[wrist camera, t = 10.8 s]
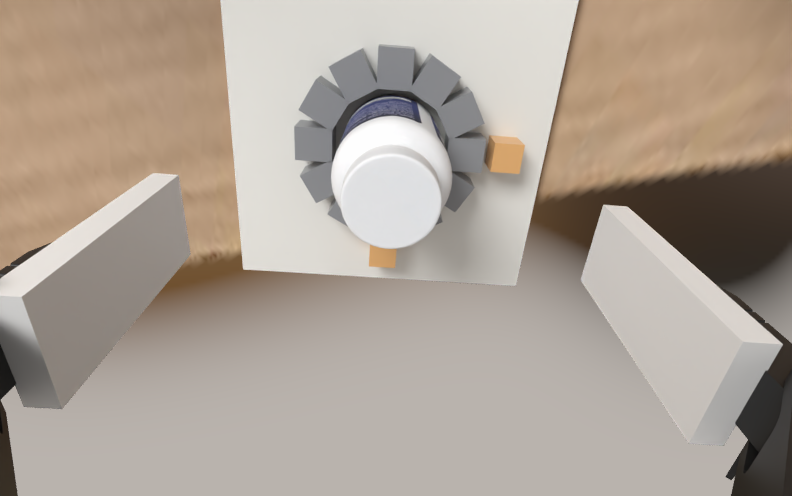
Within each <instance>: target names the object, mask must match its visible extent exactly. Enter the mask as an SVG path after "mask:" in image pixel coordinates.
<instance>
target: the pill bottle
mask: <svg viewBox="0 0 792 496" xmlns="http://www.w3.org/2000/svg"><path fill="white" fill-rule="evenodd" d="M331 183H332V189H333V193H334V196H335V199H336V201H337V203H338V205H339V207H340V208H341V212H342V215H343V218H344V220H345V222H346V224H347V226H348V227H349V228H350V230H351V231H352V232H353V233H354V234H355V235H356V236H357V237H358V238H359V239H361V240H362V241H364V242H366V243H368V244H370V245H372V246H375V247H379V248H385V249H398V248H404V247H408V246H410V245H413V244H415V243H417V242H419V241H420V240H422V239H423V238H424V237H425V236H427V235H428V234H429V233H430V232H431V230H432V229H433V228H434V226H435V225H436V223H437V221H438V219H439V216H440V213H441V210H442V209H443V207H444V205H445V204H446V202H447V199H448V197H449V194H450V190H451V186H452V168H451V162H450V158H449V155H448V153H447V150H446V147H445V145H444V142H443V140H442V137H441V134H440V132H439V129H438V126H437V124H436V122H435V120H434V119H433V117H432V115H431V114H430V113H429V111H428V110H427V109H426V108H425V107H424V106H423V105H422V104H420V103H419V102H417V101H415V100H414V99H412V98H409V97H407V96H403V95H399V94H384V95H379V96H376V97H373V98H371V99H369V100H367V101H366V102H364V103H363V104H362V105H361V106H359V107H358V108H357V109H356V111H355V112H354V113H353V114H352V116H351V118H350V119H349V121H348V123H347V126H346V129H345V131H344V134H343V136H342V139H341V141H340V144H339V146H338V148H337V151H336V154H335V157H334V160H333V164H332V170H331Z"/></svg>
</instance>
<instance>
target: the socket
mask: <svg viewBox="0 0 792 496" xmlns="http://www.w3.org/2000/svg"><path fill="white" fill-rule="evenodd" d="M220 1H221V13H222V24H223V36H224V48H225V60H226V72H227V83H228V95H229V107H230V119H231V131H232V142H233V154H234V166H235V178H236V190H237V201H238V213H239V225H240V237H241V249H242V260H243V269H245V270H262V271H277V272H294V273H310V274H326V275H343V276H359V277H375V278H390V279H407V280H423V281H439V282H455V283H471V284H487V285H504V286H516V284H517V279H518V275H519V270H520V266H521V261H522V257H523V252H524V247H525V243H526V238H527V234H528V229H529V225H530V220H531V215H532V211H533V206H534V202H535V197H536V193H537V188H538V184H539V179H540V175H541V170H542V165H543V161H544V156H545V152H546V147H547V143H548V138H549V134H550V129H551V124H552V120H553V115H554V111H555V106H556V102H557V97H558V93H559V88H560V84H561V79H562V74H563V70H564V65H565V61H566V56H567V52H568V47H569V43H570V38H571V33H572V29H573V24H574V20H575V15H576V11H577V6H578V2H579V0H220ZM384 94H399V95H403V96H407V97H409V98H412V99H414V100H415V101H417V102H419V103H420V104H422V105H423V106H424V107H425V108H426V109H427V110H428V111H429V113H430V114H431V115H432V117H433V119H434V120H435V122H436V124H437V126H438V129H439V132H440V134H441V137H442V140H443V142H444V145H445V147H446V150H447V153H448V155H449V158H450V162H451V168H452V186H451V190H450V194H449V197H448V199H447V202H446V204H445V205H444V207H443V209H442V210H441V213H440V216H439V219H438V221H437V223H436V225H435V226H434V228H433V229H432V230H431V232H430V233H429V234H428V235H427V236H425V237H424V238H423V239H422V240H420V241H419V242H417V243H415V244H413V245H410V246H408V247H404V248H398V249H385V248H379V247H375V246H372V245H370V244H368V243H366V242H364V241H362V240H361V239H359V238H358V237H357V236H356V235H355V234H354V233H353V232H352V231H351V230H350V228H349V227H348V226H347V224H346V222H345V220H344V218H343V215H342V212H341V208H340V207H339V205H338V203H337V201H336V199H335V196H334V193H333V189H332V183H331V170H332V164H333V160H334V157H335V154H336V151H337V148H338V146H339V144H340V141H341V139H342V136H343V134H344V131H345V129H346V126H347V123H348V121H349V119H350V118H351V116H352V114H353V113H354V112H355V111H356V109H357V108H358V107H359V106H361V105H362V104H363V103H364V102H366V101H367V100H369V99H371V98H373V97H376V96H379V95H384Z"/></svg>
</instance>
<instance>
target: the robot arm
mask: <svg viewBox="0 0 792 496" xmlns="http://www.w3.org/2000/svg"><path fill="white" fill-rule="evenodd" d="M190 255H191V254H190V247H189V241H188V234H187V227H186V221H185V214H184V208H183V201H182V195H181V188H180V181H179V175H172V174H158V173H153V174H151V175H150V176H148V177H147V178H145V179H144V180H142V181H141V182H139V183H138V184H137V185H135V186H134V187H132V188H131V189H129V190H128V191H126V192H125V193H124V194H122V195H121V196H119V197H118V198H116V199H115V200H113V201H112V202H110V203H109V204H108V205H106V206H105V207H103V208H102V209H100V210H99V211H97V212H96V213H94V214H93V215H92V216H90V217H89V218H87V219H86V220H84V221H83V222H81V223H80V224H79V225H77V226H76V227H74V228H73V229H71V230H70V231H68V232H67V233H65V234H64V235H63V236H61V237H60V238H58V239H57V240H55V241H54V242H52V243H49V244H47V245H44V246H42V247H39V248H37V249H34V250H32V251H29V252H27V253H26V254H24V255H23V256H21V257H20V258H18V259H17V260H15V261H14V262H12V263H11V265H10V266H6V267H5V268H3V269H2V270H0V496H18V495H17V488H16V481H15V473H14V466H13V460H12V453H11V445H10V438H9V431H8V424H7V417H6V412H5V409H4V407H3V405H2V403H1V399H2V397H3V396H4V395H6V393H8V392H9V390H10V389H12V387H14V386H16V389H17V391H18V394H19V396H20V398H21V401H22V403H23V406H24V407H35V408H53V409H63V407H64V406H65V405H66V404H67V403H68V401H69V400H70V399H71V398H72V396H73V395H74V394H75V393H76V392H77V390H78V389H79V388H80V387H81V386H82V384H83V383H84V382H85V381H86V380H87V379H88V377H89V376H90V375H91V374H92V372H93V371H94V370H95V369H96V368H97V366H98V365H99V364H100V363H101V362H102V360H103V359H104V358H105V357H106V356H107V354H108V353H109V352H110V351H111V350H112V348H113V347H114V346H115V345H116V343H117V342H118V341H119V340H120V339H121V337H122V336H123V335H124V334H125V333H126V331H127V330H128V329H129V328H130V327H131V326H132V324H133V323H134V322H135V321H136V320H137V318H138V317H139V316H140V315H141V313H142V312H143V311H144V310H145V309H146V307H147V306H148V305H149V304H150V303H151V301H152V300H153V299H154V298H155V297H156V295H157V294H158V293H159V292H160V291H161V289H162V288H163V287H164V286H165V285H166V283H167V282H168V281H169V280H170V279H171V277H172V276H173V275H174V274H175V273H176V271H177V270H178V269H179V268H180V267H181V265H182V264H183V263H184V262H185V261H186V259H187V258H188V257H189V256H190ZM581 281H582V282H583V284H584V286H585V287H586V289H587V290H588V292H589V293H590V295H591V296H592V298H593V299H594V301H595V302H596V304H597V306H598V307H599V309H600V310H601V312H602V313H603V315H604V316H605V318H606V319H607V321H608V322H609V324H610V325H611V327H612V328H613V330H614V331H615V333H616V334H617V336H618V337H619V339H620V340H621V342H622V343H623V345H624V346H625V348H626V349H627V351H628V353H629V354H630V356H631V357H632V359H633V360H634V362H635V363H636V364H637V366H638V368H639V369H640V371H641V372H642V374H643V375H644V377H645V378H646V380H647V381H648V383H649V384H650V386H651V387H652V389H653V390H654V392H655V394H656V395H657V397H658V398H659V399H660V401H661V403H662V404H663V406H664V407H665V409H666V410H667V412H668V413H669V415H670V416H671V418H672V419H673V421H674V422H675V424H676V425H677V427H678V428H679V430H680V431H681V433H682V434H683V436H684V437H685V439H686V441H687V442H688V443H689V444H701V445H719V446H724V444H725V443H726V441H727V439H728V438H729V436H730V434H731V432H732V430H733V429H734V427H735V426H736V425H737V426H738V427H739V429H740V430H741V431H742V432H743V434H744V435H745V436H746V437H747V439H748V441H747V443H746V444H745V446H744V448H743V449H742V451H741V453H740V454H739V456H738V457H737V459H736V461H735V462H734V464H733V465H732V467H731V469H730V470H729V472H728V474H727V475H726V477H727V478H729V479H730V480H732V479H733V478H734V477H735V480H734V485H733V489H732V494H731V496H792V344H791V343H790V342H789V341H788V340H787V339H786V338H784V337H783V336H782V335H781V334H780V333H779V332H778V331H776V330H775V329H774V328H773V327H772V326H771V325H770V324H768V323H765V320H764V319H763V318H761V317H760V316H759V315H758V314H757V313H755V312H752V309H751V308H750V307H749V306H748V305H746V304H745V303H744V302H743V301H742V300H741V299H739V298H738V297H737V296H735V295H733V294H732V293H730V292H728V291H726V290H725V289H723V288H721V287H719V286H717V285H715V284H714V283H713V282H712V281H711V280H710V279H709V278H707V277H706V276H705V275H704V274H703V273H702V272H701V271H700V270H698V269H697V268H696V267H695V266H694V265H693V264H691V263H690V262H689V261H688V260H687V259H686V258H685V257H684V256H683V255H682V254H680V253H679V252H678V251H677V250H676V249H675V248H674V247H672V246H671V245H670V244H669V243H668V242H667V241H666V240H665V239H663V238H662V237H661V236H660V235H659V234H658V233H657V232H656V231H654V230H653V229H652V228H651V227H650V226H649V225H648V224H647V223H645V222H644V221H643V220H642V219H641V218H639V216H637V215H636V214H635V213H634V212H633V211H632V210H631V209H630V208H628V207H625V206H609V205H603V208H602V211H601V215H600V218H599V221H598V225H597V228H596V231H595V234H594V238H593V241H592V244H591V248H590V251H589V254H588V257H587V261H586V264H585V267H584V271H583V274H582V277H581Z"/></svg>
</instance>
